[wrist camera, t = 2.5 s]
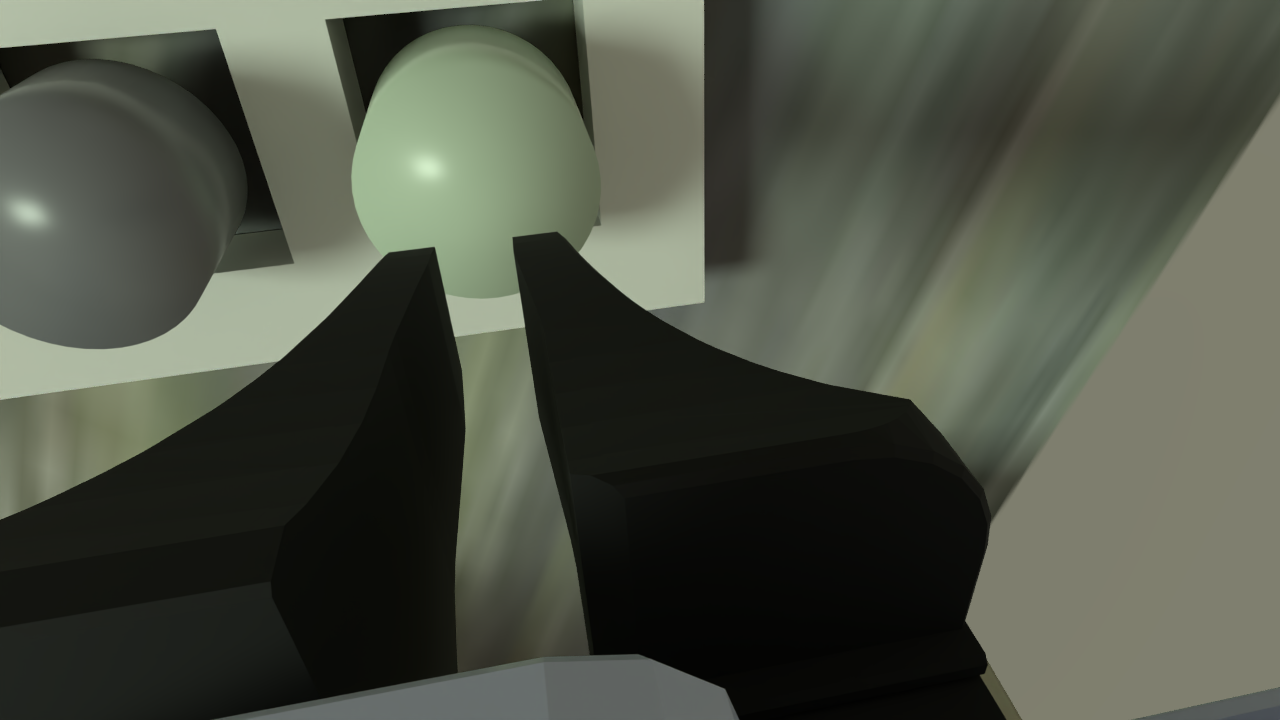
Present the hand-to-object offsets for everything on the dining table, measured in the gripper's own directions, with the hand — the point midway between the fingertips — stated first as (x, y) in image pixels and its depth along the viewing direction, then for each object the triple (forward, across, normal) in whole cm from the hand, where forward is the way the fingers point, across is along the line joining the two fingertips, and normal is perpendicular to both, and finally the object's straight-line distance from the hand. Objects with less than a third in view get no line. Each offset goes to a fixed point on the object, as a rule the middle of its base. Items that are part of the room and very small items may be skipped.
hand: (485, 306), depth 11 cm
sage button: (+7, 0, 0) cm, 7 cm away
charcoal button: (+7, +7, 0) cm, 10 cm away
